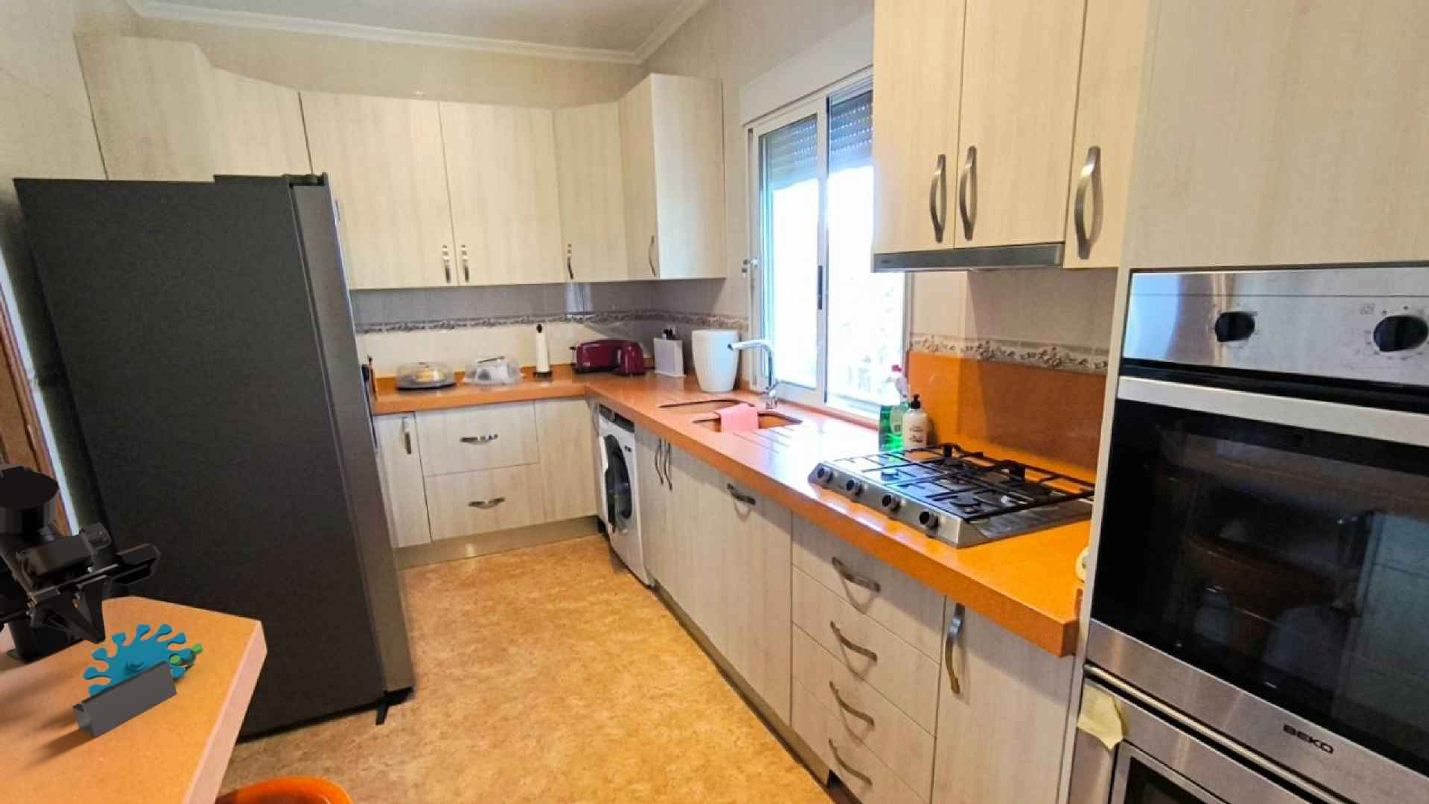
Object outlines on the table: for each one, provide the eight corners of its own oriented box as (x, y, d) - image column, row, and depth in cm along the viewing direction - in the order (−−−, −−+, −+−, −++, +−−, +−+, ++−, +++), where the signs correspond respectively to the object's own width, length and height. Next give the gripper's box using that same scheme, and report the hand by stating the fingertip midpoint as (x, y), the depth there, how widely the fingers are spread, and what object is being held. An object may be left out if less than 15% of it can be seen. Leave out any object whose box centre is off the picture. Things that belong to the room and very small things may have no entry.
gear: (75, 715, 71) (88, 631, 76) (89, 727, 75) (100, 646, 80) (198, 687, 77) (202, 611, 82) (204, 700, 81) (208, 626, 86)
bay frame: (79, 728, 71) (68, 695, 70) (159, 686, 78) (150, 655, 77) (95, 737, 70) (85, 703, 69) (177, 693, 76) (168, 662, 76)
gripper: (-72, 546, 68) (2, 654, 66) (136, 488, 84) (200, 573, 82) (-76, 597, 73) (-7, 699, 71) (122, 533, 89) (182, 614, 87)
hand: (101, 641), depth 78 cm, fingers closed
